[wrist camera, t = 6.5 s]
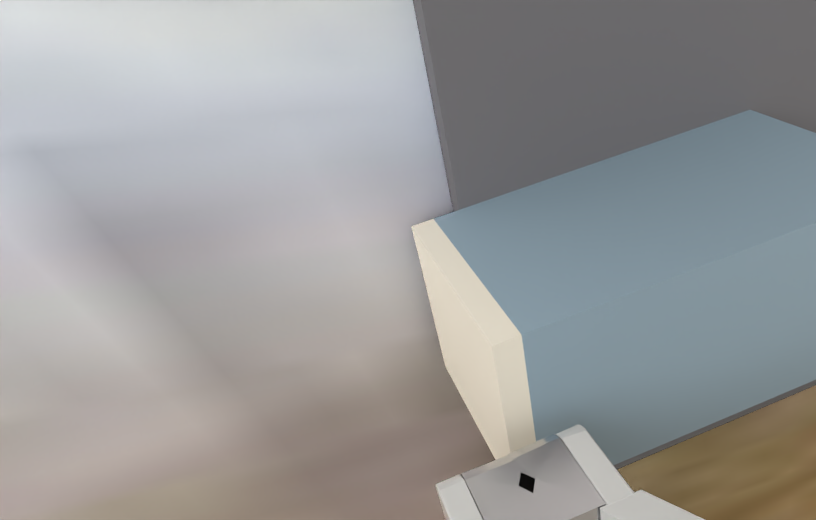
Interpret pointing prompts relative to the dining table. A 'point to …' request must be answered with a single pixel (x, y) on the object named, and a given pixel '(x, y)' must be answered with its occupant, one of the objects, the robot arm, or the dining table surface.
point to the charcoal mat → (604, 85)
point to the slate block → (633, 289)
